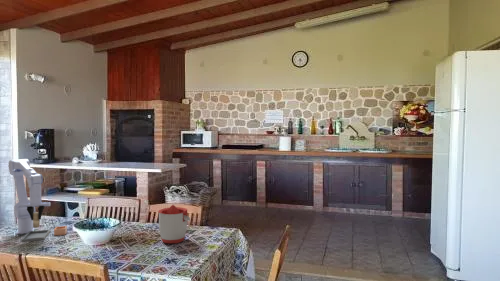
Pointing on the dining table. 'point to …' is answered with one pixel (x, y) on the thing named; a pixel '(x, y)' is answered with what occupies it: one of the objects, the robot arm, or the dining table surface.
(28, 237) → the tray
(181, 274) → the dining table surface
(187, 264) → the dining table surface
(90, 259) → the dining table surface
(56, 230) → the open box
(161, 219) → the citrus juicer
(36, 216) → the dowel
